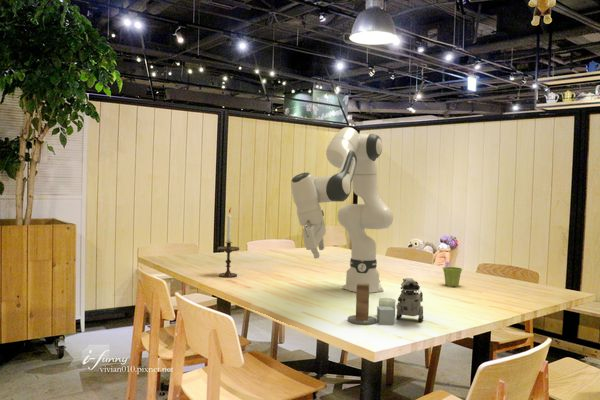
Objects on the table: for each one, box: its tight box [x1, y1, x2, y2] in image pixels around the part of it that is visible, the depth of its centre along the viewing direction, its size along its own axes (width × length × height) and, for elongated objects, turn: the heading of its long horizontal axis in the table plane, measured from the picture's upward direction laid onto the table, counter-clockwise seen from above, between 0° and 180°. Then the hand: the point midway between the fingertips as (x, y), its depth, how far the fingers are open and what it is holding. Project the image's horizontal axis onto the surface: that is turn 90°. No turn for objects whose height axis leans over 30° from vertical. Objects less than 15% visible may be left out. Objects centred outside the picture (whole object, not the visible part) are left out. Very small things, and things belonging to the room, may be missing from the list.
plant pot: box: [442, 266, 463, 288], centre depth 247 cm, size 9×9×9 cm
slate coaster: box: [347, 314, 378, 326], centre depth 177 cm, size 10×10×1 cm
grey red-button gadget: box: [395, 277, 424, 323], centre depth 178 cm, size 9×12×15 cm
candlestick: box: [217, 207, 240, 279], centre depth 256 cm, size 11×11×35 cm
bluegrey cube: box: [376, 305, 396, 325], centre depth 176 cm, size 5×5×5 cm
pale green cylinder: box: [378, 297, 396, 318], centre depth 185 cm, size 6×6×6 cm
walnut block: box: [355, 283, 370, 320], centre depth 177 cm, size 4×4×12 cm
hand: (319, 253), depth 186 cm, fingers open, 8 cm apart
